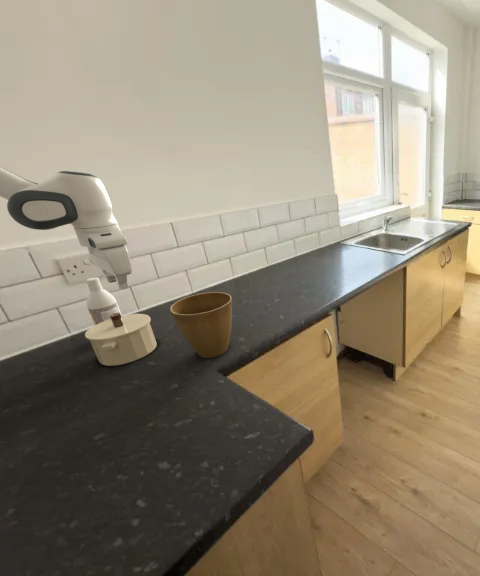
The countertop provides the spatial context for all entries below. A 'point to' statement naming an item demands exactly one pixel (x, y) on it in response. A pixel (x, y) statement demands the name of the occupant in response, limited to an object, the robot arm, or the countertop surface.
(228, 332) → the plant pot
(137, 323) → the lid
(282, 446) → the countertop surface
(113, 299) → the bath foam
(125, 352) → the pot
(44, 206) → the robot arm
